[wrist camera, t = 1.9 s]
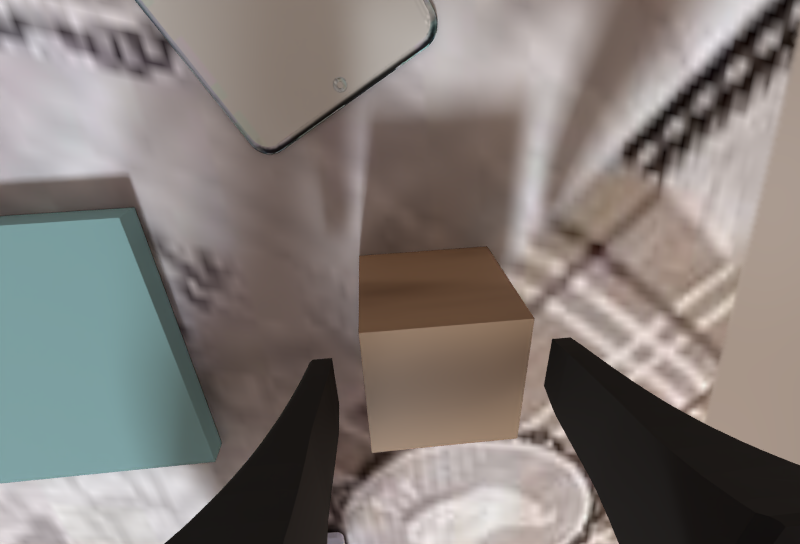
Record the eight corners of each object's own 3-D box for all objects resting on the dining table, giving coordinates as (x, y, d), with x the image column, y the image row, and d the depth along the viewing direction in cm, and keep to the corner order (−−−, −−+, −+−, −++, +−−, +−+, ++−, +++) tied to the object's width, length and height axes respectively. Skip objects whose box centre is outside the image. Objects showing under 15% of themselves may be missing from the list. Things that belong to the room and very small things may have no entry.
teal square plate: (221, 443, 20) (215, 461, 19) (-40, 469, 19) (-60, 489, 18) (134, 207, 14) (119, 217, 13) (-245, 232, 13) (-288, 244, 12)
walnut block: (479, 346, 18) (517, 437, 14) (369, 355, 18) (371, 452, 14) (486, 245, 16) (534, 318, 12) (359, 254, 16) (358, 333, 11)
